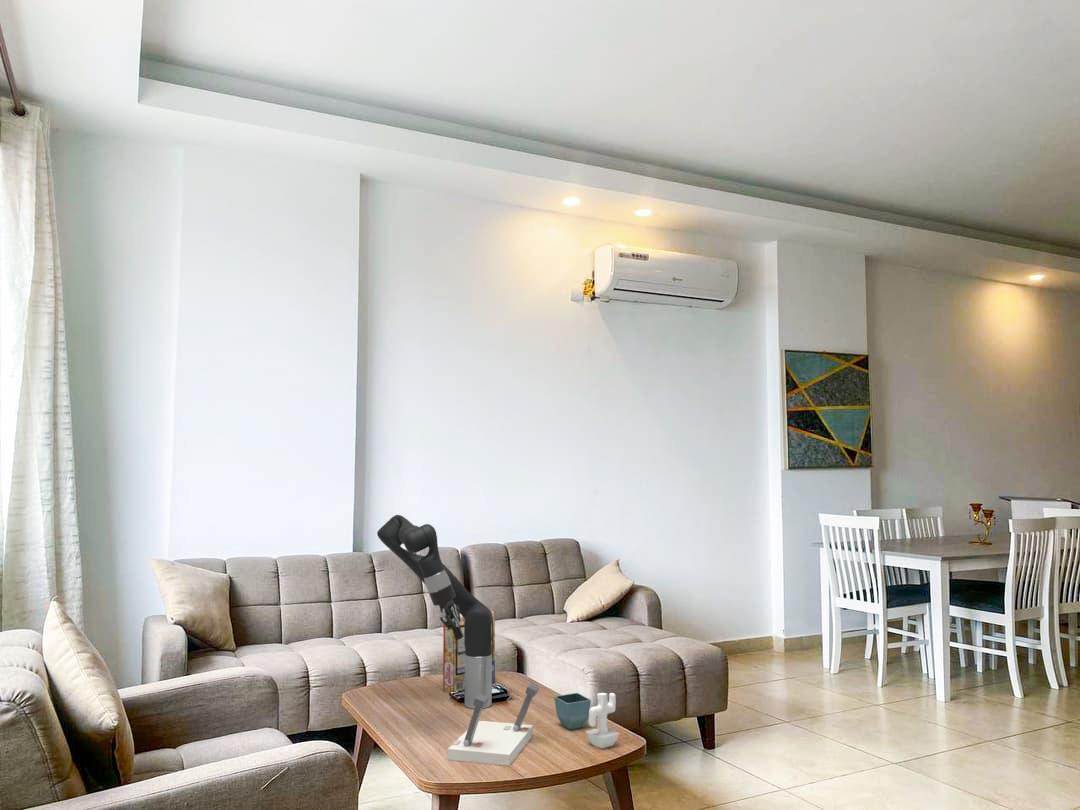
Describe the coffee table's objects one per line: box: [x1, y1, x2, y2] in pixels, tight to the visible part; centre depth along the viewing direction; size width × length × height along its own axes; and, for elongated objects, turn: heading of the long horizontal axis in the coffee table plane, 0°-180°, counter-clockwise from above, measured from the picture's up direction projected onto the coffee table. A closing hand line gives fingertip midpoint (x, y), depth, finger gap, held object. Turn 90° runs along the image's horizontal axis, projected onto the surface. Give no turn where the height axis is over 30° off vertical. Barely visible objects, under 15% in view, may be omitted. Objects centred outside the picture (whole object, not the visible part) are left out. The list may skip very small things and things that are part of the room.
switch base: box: [447, 720, 534, 767], centre depth 243 cm, size 26×18×3 cm
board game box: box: [442, 609, 496, 694], centre depth 306 cm, size 20×6×27 cm, turn 135°
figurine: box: [584, 692, 620, 749], centre depth 245 cm, size 7×9×15 cm
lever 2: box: [513, 682, 540, 731], centre depth 249 cm, size 4×3×14 cm, turn 166°
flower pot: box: [553, 692, 592, 730], centre depth 261 cm, size 9×9×9 cm
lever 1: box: [463, 694, 489, 746], centre depth 236 cm, size 4×3×14 cm, turn 166°
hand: (460, 638), depth 260 cm, fingers closed
